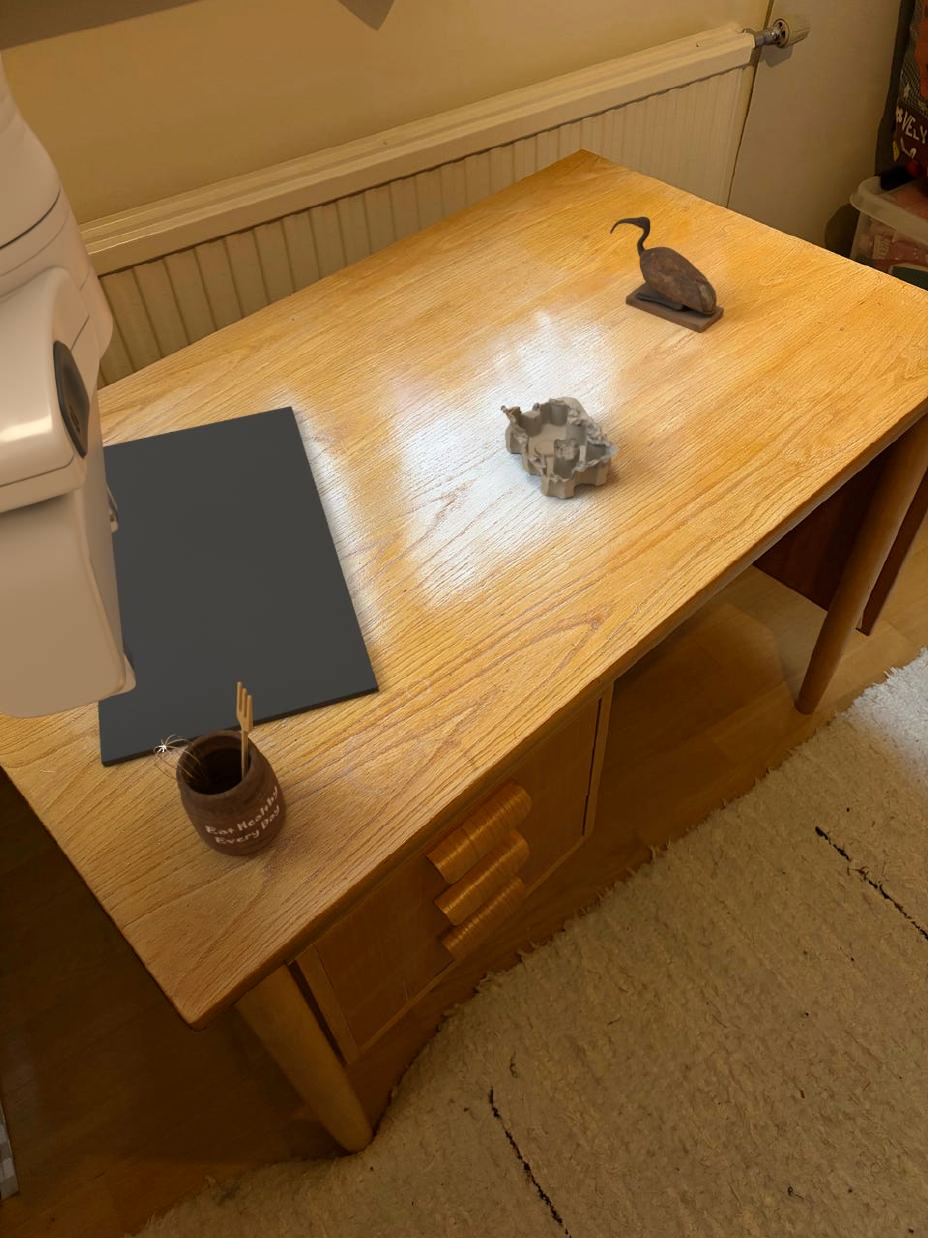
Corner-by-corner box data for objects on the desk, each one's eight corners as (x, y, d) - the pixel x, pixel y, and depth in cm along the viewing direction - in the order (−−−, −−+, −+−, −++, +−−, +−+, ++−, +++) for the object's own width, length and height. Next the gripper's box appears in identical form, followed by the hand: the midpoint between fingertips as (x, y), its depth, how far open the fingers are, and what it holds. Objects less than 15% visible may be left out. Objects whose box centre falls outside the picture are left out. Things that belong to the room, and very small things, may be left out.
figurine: (593, 291, 99) (599, 215, 93) (616, 274, 101) (624, 199, 95) (701, 333, 93) (716, 255, 86) (723, 315, 95) (739, 237, 88)
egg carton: (496, 438, 83) (495, 402, 80) (566, 417, 85) (568, 381, 82) (546, 507, 77) (547, 471, 74) (621, 482, 79) (626, 446, 75)
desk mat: (103, 767, 62) (100, 762, 61) (86, 455, 84) (84, 450, 83) (379, 691, 65) (378, 686, 64) (292, 410, 87) (291, 405, 87)
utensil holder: (183, 811, 59) (123, 712, 50) (264, 760, 62) (221, 657, 52) (223, 877, 56) (167, 784, 47) (308, 820, 58) (270, 722, 49)
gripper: (-123, 184, 33) (30, 466, 44) (-209, 547, 21) (35, 820, 31) (49, 155, 34) (157, 438, 45) (67, 483, 22) (212, 768, 32)
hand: (107, 597), depth 38 cm, fingers open, 8 cm apart
